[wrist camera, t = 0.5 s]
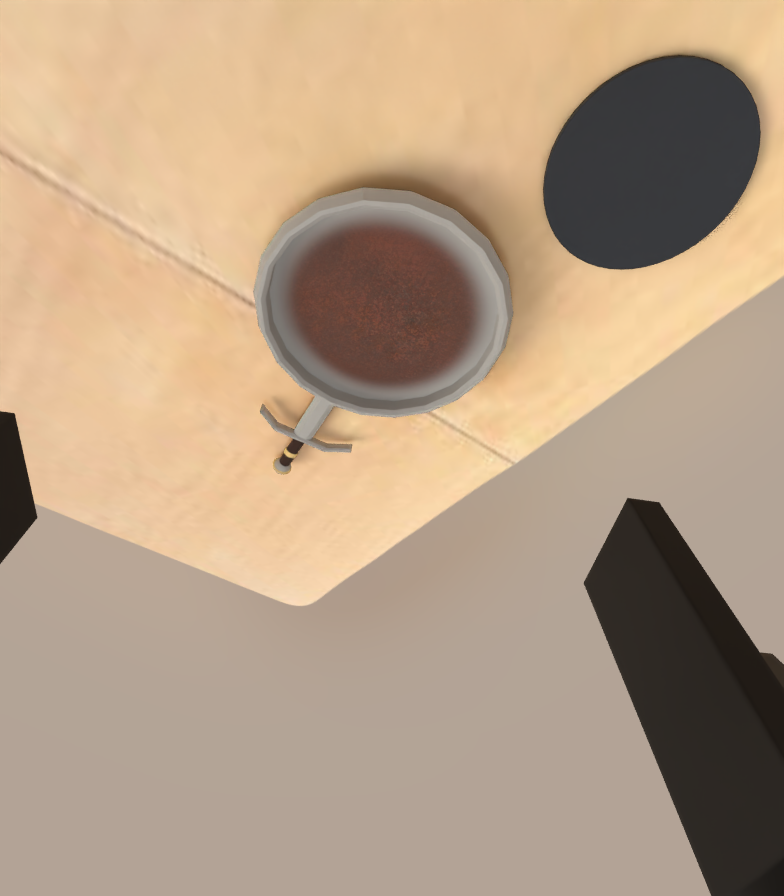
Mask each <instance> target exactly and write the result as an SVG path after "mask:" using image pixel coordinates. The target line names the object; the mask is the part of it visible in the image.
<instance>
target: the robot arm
mask: <svg viewBox="0 0 784 896" xmlns="http://www.w3.org/2000/svg"><path fill="white" fill-rule="evenodd" d="M36 519H37V514H36V509H35V505H34V500H33V495H32V491H31V486H30V482H29V477H28V473H27V468H26V463H25V459H24V454H23V450H22V445H21V441H20V436H19V431H18V427H17V422H16V418H15V413H8V412H1V411H0V564H1V562H2V561H3V560H4V558H5V557H6V556H7V555H8V554H9V552H10V551H11V550H12V549H13V547H14V546H15V545H16V544H17V542H18V541H19V540H20V539H21V537H22V536H23V535H24V534H25V532H26V531H27V530H28V528H29V527H30V526H31V525H32V524H33V522H34V521H35V520H36ZM584 585H585V587H586V590H587V592H588V595H589V597H590V599H591V602H592V604H593V607H594V609H595V612H596V614H597V616H598V619H599V621H600V624H601V626H602V629H603V631H604V634H605V636H606V639H607V641H608V644H609V646H610V649H611V651H612V653H613V656H614V658H615V661H616V663H617V665H618V668H619V670H620V673H621V675H622V678H623V680H624V683H625V685H626V687H627V690H628V693H629V695H630V697H631V700H632V702H633V705H634V707H635V710H636V712H637V715H638V717H639V719H640V722H641V724H642V727H643V729H644V732H645V734H646V737H647V739H648V742H649V744H650V746H651V749H652V751H653V754H654V756H655V759H656V761H657V764H658V766H659V769H660V771H661V773H662V776H663V778H664V781H665V783H666V786H667V788H668V791H669V793H670V796H671V798H672V800H673V803H674V805H675V808H676V810H677V813H678V815H679V818H680V820H681V822H682V825H683V827H684V830H685V832H686V835H687V837H688V840H689V842H690V844H691V847H692V849H693V852H694V854H695V857H696V859H697V862H698V864H699V867H700V869H701V871H702V874H703V876H704V879H705V881H706V884H707V886H708V889H709V891H710V893H711V896H784V664H782V663H781V662H780V661H779V660H778V659H777V658H776V657H775V656H774V655H773V654H768V653H760V652H759V651H758V649H757V648H756V646H755V645H754V643H753V642H752V640H751V639H750V637H749V636H748V634H747V633H746V631H745V630H744V628H743V627H742V625H741V624H740V622H739V621H738V619H737V618H736V617H735V615H734V613H733V612H732V610H731V609H730V607H729V606H728V604H727V603H726V601H725V600H724V598H723V597H722V595H721V594H720V592H719V591H718V590H717V588H716V587H715V585H714V584H713V582H712V581H711V579H710V578H709V576H708V575H707V573H706V572H705V570H704V569H703V567H702V566H701V564H700V563H699V561H698V560H697V558H696V557H695V555H694V554H693V552H692V551H691V549H690V548H689V546H688V545H687V543H686V542H685V540H684V539H683V538H682V536H681V534H680V533H679V531H678V530H677V528H676V527H675V526H674V524H673V522H672V521H671V519H670V518H669V516H668V515H667V513H666V512H665V511H664V509H663V507H662V506H661V504H660V503H659V502H652V501H645V500H638V499H631V498H627V500H626V502H625V504H624V506H623V508H622V510H621V512H620V514H619V516H618V518H617V520H616V522H615V523H614V526H613V527H612V529H611V531H610V533H609V535H608V537H607V539H606V541H605V543H604V545H603V547H602V549H601V551H600V553H599V554H598V556H597V558H596V560H595V562H594V564H593V566H592V568H591V570H590V572H589V574H588V576H587V578H586V580H585V581H584Z"/></svg>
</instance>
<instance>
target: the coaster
mask: <svg viewBox="0 0 784 896" xmlns="http://www.w3.org/2000/svg"><path fill="white" fill-rule="evenodd" d="M759 146H760V121H759V115H758V111H757V107H756V104H755V102H754V100H753V97H752V95H751V93H750V92H749V90H748V89H747V87H746V86H745V84H744V83H743V82H742V81H741V80H740V79H739V78H738V77H737V76H736V75H735V74H734V73H733V72H731V71H730V70H728V69H727V68H725V67H724V66H722V65H721V64H718V63H716V62H713V61H711V60H708V59H705V58H700V57H695V56H681V55H677V56H668V57H661V58H657V59H652V60H648V61H645V62H643V63H640V64H637V65H635V66H632V67H630V68H628V69H626V70H624V71H622V72H621V73H619V74H617V75H615V76H614V77H612V78H611V79H609V80H608V81H606V82H605V83H603V84H602V85H601V86H600V87H598V88H597V89H596V90H595V91H594V92H592V93H591V94H590V95H589V96H588V97H587V98H586V99H585V100H584V101H583V102H582V103H581V104H580V105H579V106H578V108H577V109H576V110H575V111H574V113H573V114H572V115H571V117H570V118H569V119H568V120H567V122H566V123H565V125H564V127H563V128H562V130H561V132H560V133H559V135H558V137H557V139H556V141H555V143H554V146H553V148H552V150H551V153H550V156H549V159H548V162H547V166H546V171H545V176H544V187H543V194H544V205H545V211H546V215H547V218H548V221H549V224H550V227H551V229H552V231H553V232H554V234H555V236H556V238H557V239H558V240H559V242H560V243H561V244H562V245H563V246H564V247H565V248H566V249H567V250H568V251H569V252H570V253H571V254H573V255H574V256H576V257H577V258H579V259H581V260H583V261H585V262H587V263H589V264H592V265H595V266H598V267H603V268H608V269H621V270H622V269H635V268H641V267H647V266H650V265H654V264H657V263H660V262H663V261H665V260H668V259H670V258H673V257H675V256H677V255H679V254H681V253H683V252H684V251H686V250H687V249H689V248H691V247H692V246H694V245H695V244H697V243H698V242H699V241H701V240H702V239H703V238H705V237H706V236H707V235H708V234H709V233H711V232H712V231H713V230H714V229H715V228H716V227H717V226H718V225H719V224H720V223H721V222H722V221H723V220H724V219H725V217H726V216H727V215H728V214H729V213H730V211H731V210H732V209H733V207H734V206H735V205H736V203H737V202H738V200H739V199H740V197H741V195H742V194H743V192H744V190H745V189H746V186H747V184H748V182H749V180H750V178H751V176H752V173H753V170H754V167H755V164H756V161H757V156H758V151H759Z"/></svg>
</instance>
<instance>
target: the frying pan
mask: <svg viewBox="0 0 784 896" xmlns="http://www.w3.org/2000/svg"><path fill="white" fill-rule="evenodd" d="M253 292H254V299H255V305H256V312H257V319H258V325H259V328H260V330H261V332H262V334H263V336H264V338H265V340H266V342H267V344H268V346H269V348H270V350H271V352H272V354H273V356H274V358H275V360H276V362H277V363H278V364H279V365H280V366H281V367H282V368H283V369H284V370H285V371H286V372H287V373H288V374H289V375H290V377H291V378H292V379H293V380H294V381H295V382H296V383H297V384H298V385H299V386H300V387H302V388H303V389H305V390H306V391H308V392H310V393H311V394H313V395H315V397H314V399H313V401H312V402H311V404H310V405H309V407H308V408H307V410H306V412H305V413H304V415H303V416H302V418H301V420H300V421H299V423H298V424H297V426H296V427H295V429H292V428H290V427H288V426H286V425H283V424H281V423H279V422H277V420H276V419H275V418H274V417H273V415H272V414H271V413H270V412H269V410H268V409H267V408H266V407H265V405H263V404H262V407H261V409H260V413H261V414H262V415H263V417H264V418H265V419H266V420H267V422H268V423H269V424H270V425H271V427H272V428H273V429H274V430H275V431H277V432H279V433H282V434H284V435H286V436H289V437H291V438H293V440H292V441H291V443H290V444H289V446H288V447H286V448H285V450H284V454H283V455H282V457H280V458H276V459H275V460H274V461H273V468H274V470H275V471H276V472H277V473H278V474H288V473H289V472H290V471H291V462H292V460H293V459H294V458H295V457H296V456H297V455H298V451H299V450H300V449H301V447H302V446H303V444H304V443H305V444H307V445H310V446H312V447H314V448H317V449H319V450H321V451H324V452H351V449H352V444H327V443H325V442H322V441H320V440H318V439H315V438H313V436H314V435H315V433H316V432H317V430H318V429H319V428H320V426H321V425H322V423H323V422H324V420H325V419H326V417H327V416H328V414H329V413H330V411H331V410H332V408H333V407H334V406H336V407H339V408H342V409H345V410H348V411H351V412H354V413H357V414H360V415H369V416H381V417H393V418H395V417H402V416H408V415H415V414H422V413H428V412H430V411H432V410H435V409H437V408H440V407H442V406H444V405H447V404H449V403H451V402H454V401H456V400H458V399H459V398H460V397H462V396H463V395H464V394H465V393H467V392H468V391H469V390H470V389H472V388H473V387H474V386H476V385H477V384H478V383H479V382H481V381H482V380H483V379H484V378H485V377H486V376H487V374H488V373H489V371H490V370H491V368H492V367H493V365H494V364H495V362H496V361H497V359H498V358H499V356H500V354H501V353H502V351H503V350H504V348H505V346H506V342H507V338H508V334H509V330H510V325H511V321H512V317H513V306H512V299H511V291H510V284H509V276H508V274H507V272H506V270H505V269H504V267H503V265H502V263H501V261H500V259H499V257H498V256H497V254H496V252H495V250H494V248H493V246H492V245H491V243H490V241H489V239H488V238H486V237H485V236H484V235H483V234H482V233H481V232H480V231H479V230H477V229H476V228H475V227H474V226H473V225H472V224H471V223H470V222H469V221H467V220H466V219H465V218H464V217H463V216H462V215H461V214H460V213H458V212H457V211H456V210H455V209H452V208H450V207H448V206H445V205H443V204H441V203H438V202H436V201H434V200H431V199H429V198H427V197H424V196H422V195H419V194H417V193H415V192H412V191H404V190H391V189H379V188H366V187H362V188H358V189H355V190H351V191H347V192H343V193H339V194H335V195H331V196H327V197H323V198H319V199H317V200H316V201H314V202H313V203H311V204H310V205H309V206H307V207H306V208H304V209H303V210H301V211H300V212H298V213H297V214H295V215H294V216H293V217H291V218H290V219H288V220H287V221H285V222H284V223H283V224H282V225H281V227H280V228H279V230H278V231H277V233H276V234H275V236H274V237H273V239H272V240H271V242H270V243H269V245H268V246H267V248H266V249H265V251H264V252H263V253H262V255H261V258H260V263H259V268H258V272H257V277H256V282H255V286H254V291H253Z"/></svg>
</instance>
